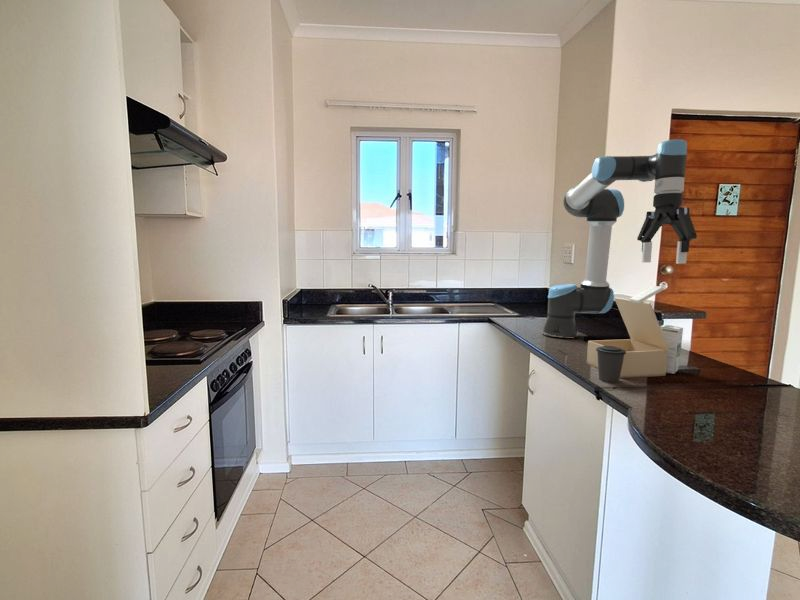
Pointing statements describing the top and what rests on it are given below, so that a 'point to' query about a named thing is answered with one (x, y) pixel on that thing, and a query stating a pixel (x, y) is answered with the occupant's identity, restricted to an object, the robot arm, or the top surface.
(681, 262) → the robot arm
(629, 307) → the lid flap
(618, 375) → the coffee cup
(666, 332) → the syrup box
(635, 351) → the carton
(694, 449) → the top surface
